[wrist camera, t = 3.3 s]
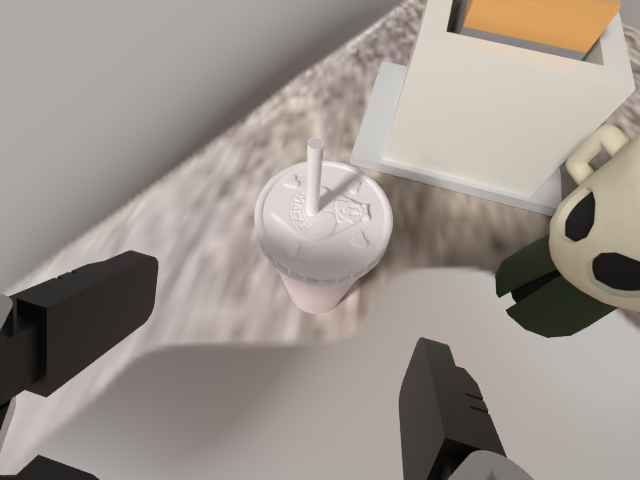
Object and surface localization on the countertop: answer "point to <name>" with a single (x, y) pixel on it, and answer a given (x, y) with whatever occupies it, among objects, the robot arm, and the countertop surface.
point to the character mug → (583, 245)
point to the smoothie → (322, 228)
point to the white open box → (489, 112)
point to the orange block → (537, 23)
